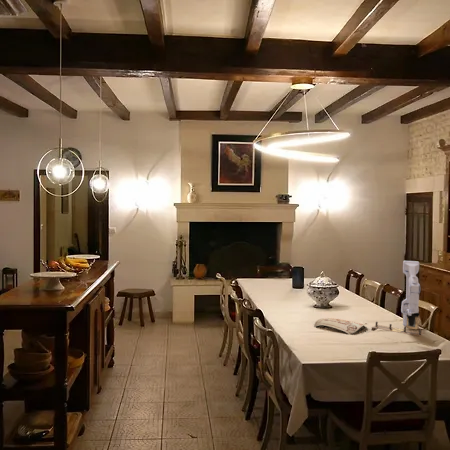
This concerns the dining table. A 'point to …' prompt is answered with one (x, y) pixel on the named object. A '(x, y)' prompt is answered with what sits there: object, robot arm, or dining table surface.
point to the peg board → (397, 330)
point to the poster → (340, 324)
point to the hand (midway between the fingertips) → (412, 325)
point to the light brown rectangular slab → (416, 323)
